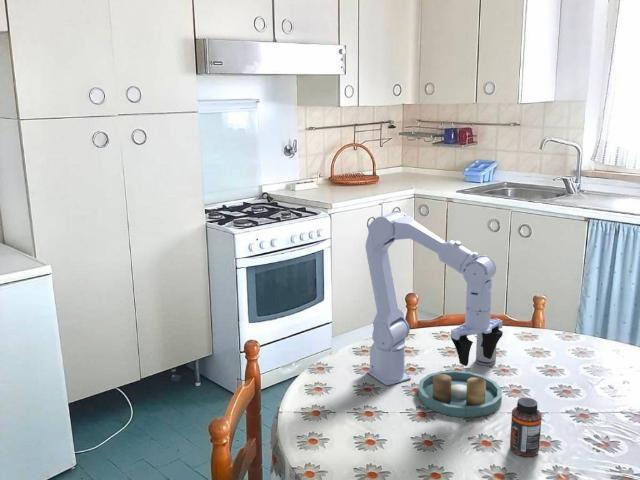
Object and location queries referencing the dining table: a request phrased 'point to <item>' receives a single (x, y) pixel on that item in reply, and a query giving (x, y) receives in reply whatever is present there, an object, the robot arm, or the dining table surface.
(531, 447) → the supplement bottle
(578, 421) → the dining table surface
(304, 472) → the dining table surface
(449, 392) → the brown wooden peg
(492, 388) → the ring tray
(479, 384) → the oak bead
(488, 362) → the energy drink
